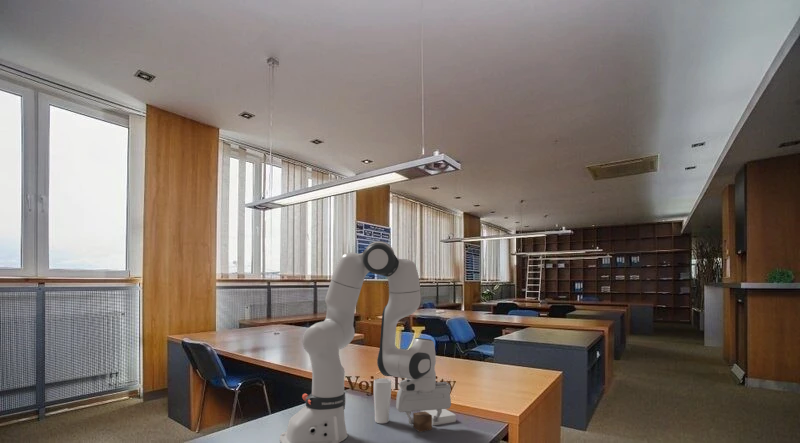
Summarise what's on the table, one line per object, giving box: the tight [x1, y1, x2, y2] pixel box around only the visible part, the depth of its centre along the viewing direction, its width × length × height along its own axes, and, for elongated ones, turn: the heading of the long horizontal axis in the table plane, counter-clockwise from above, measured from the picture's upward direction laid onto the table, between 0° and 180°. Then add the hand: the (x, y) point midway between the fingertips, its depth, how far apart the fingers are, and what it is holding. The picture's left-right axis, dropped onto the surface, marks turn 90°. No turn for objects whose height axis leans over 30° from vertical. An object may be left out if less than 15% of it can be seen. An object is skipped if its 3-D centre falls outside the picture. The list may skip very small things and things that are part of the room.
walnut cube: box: [412, 411, 433, 433], centre depth 151 cm, size 5×5×5 cm
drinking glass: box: [373, 377, 392, 425], centre depth 158 cm, size 7×7×15 cm
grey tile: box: [419, 409, 457, 426], centre depth 161 cm, size 10×10×2 cm
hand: (423, 422), depth 151 cm, fingers open, 8 cm apart
